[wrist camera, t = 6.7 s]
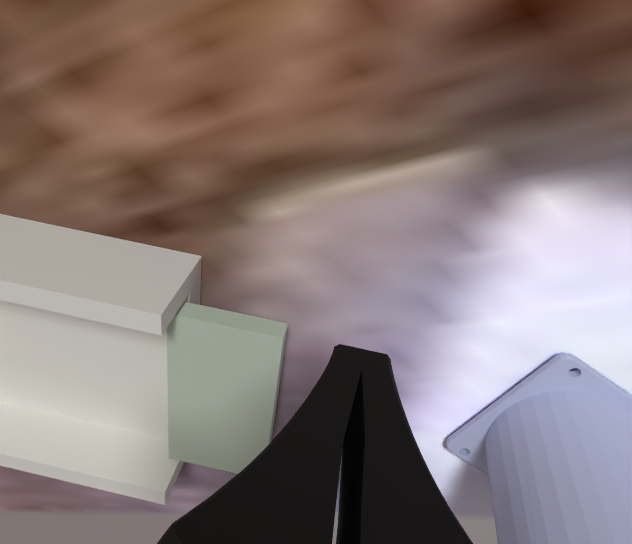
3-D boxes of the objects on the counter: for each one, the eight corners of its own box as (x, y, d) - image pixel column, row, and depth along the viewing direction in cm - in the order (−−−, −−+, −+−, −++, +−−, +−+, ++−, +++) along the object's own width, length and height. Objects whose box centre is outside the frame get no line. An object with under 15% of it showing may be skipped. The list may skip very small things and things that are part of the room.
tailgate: (180, 292, 23) (291, 315, 23) (180, 433, 29) (270, 454, 28) (166, 313, 22) (283, 338, 22) (168, 458, 27) (263, 479, 27)
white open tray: (201, 256, 24) (161, 315, 20) (196, 434, 30) (164, 504, 26) (-50, 203, 24) (-135, 250, 21) (-3, 389, 31) (-61, 450, 27)
